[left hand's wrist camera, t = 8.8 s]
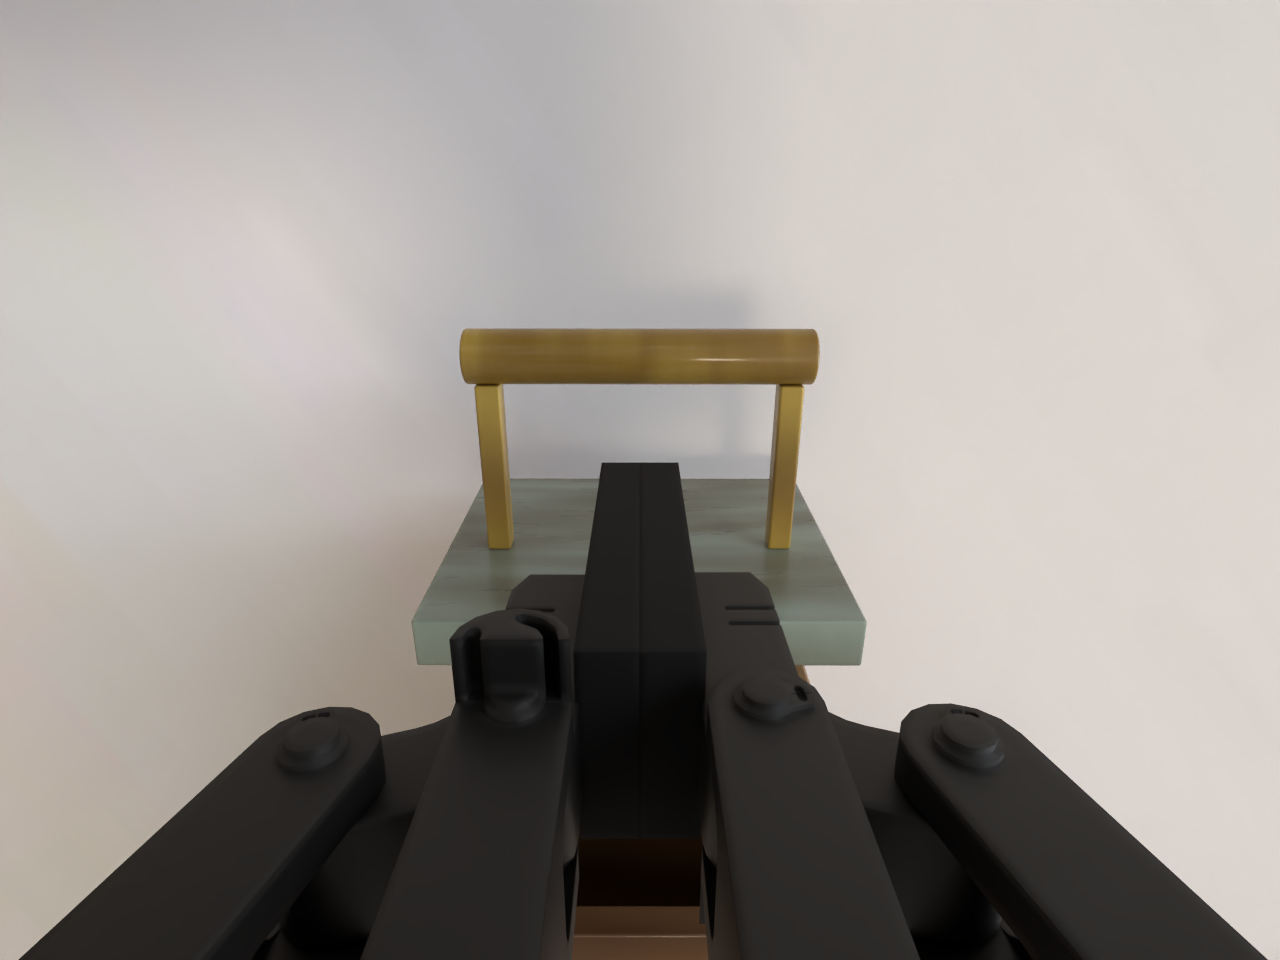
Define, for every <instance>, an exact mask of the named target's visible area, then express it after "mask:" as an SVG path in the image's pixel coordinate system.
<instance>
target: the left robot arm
mask: <svg viewBox="0 0 1280 960" xmlns="http://www.w3.org/2000/svg"><path fill="white" fill-rule="evenodd" d="M449 643H450V652H451V662H452V671H453V681H454V690H455V700H456V703H455V706H454V708H453V711H452V714H451V716H449V717H446V718H444V719H442V720H440V721H438V722H436V723H433V724H430V725H426V726H423V727H419V728H416V729H411V730H407V731H402V732H398V733H393V734H388V735H384V736H381V734H380V727H379V724H378V723H377V722H376V721H375V720H374V719H373V718H372V716H371V715H370V714H368V713H366V712H363V711H360V710H357V709H354V708H350V707H327V708H322V709H317V710H312V711H307V712H303V713H301V714H299V715H296V716H294V717H291V718H289V719H287V720H284V721H282V722H280V723H278V724H277V725H276V726H274V727H273V728H271V729H270V730H269V731H267V732H266V733H264V734H263V735H262V736H260V737H259V738H258V739H257V740H256V741H255V742H254V743H252V744H251V745H250V746H249V747H248V748H247V749H246V750H245V751H244V752H243V753H242V754H241V755H239V756H238V757H237V758H236V759H235V760H234V761H233V762H232V763H231V764H230V765H229V766H228V767H227V768H225V769H224V770H223V771H222V772H221V773H220V774H219V775H218V776H217V777H216V778H215V779H214V780H212V781H211V782H210V783H209V784H208V785H207V786H206V787H205V788H204V789H203V790H202V791H201V792H199V793H198V794H197V795H196V796H195V797H194V798H193V799H192V800H191V801H190V802H189V803H188V804H187V805H185V806H184V807H183V808H182V809H181V810H180V811H179V812H178V813H177V814H176V815H175V816H174V817H172V818H171V819H170V820H169V821H168V822H167V823H166V824H165V825H164V826H163V827H162V828H161V829H159V830H158V831H157V832H156V833H155V834H154V835H153V836H152V837H151V838H150V839H149V840H148V841H146V842H145V843H144V844H143V845H142V846H141V847H140V848H139V849H138V850H137V851H136V852H135V853H134V854H132V855H131V856H130V857H129V858H128V859H127V860H126V861H125V862H124V863H123V864H122V865H121V866H119V867H118V868H117V869H116V870H115V871H114V872H113V873H112V874H111V875H110V876H109V877H108V878H106V879H105V880H104V881H103V882H102V883H101V884H100V885H99V886H98V887H97V888H96V889H95V890H94V891H92V892H91V893H90V894H89V895H88V896H87V897H86V898H85V899H84V900H83V901H82V902H81V903H79V904H78V905H77V906H76V907H75V908H74V909H73V910H72V911H71V912H70V913H69V914H68V915H66V916H65V917H64V918H63V919H62V920H61V921H60V922H59V923H58V924H57V925H56V926H55V927H53V928H52V929H51V930H50V931H49V932H48V933H47V934H46V935H45V936H44V937H43V938H42V939H41V940H39V941H38V942H37V943H36V944H35V945H34V946H33V947H32V948H31V949H30V950H29V951H28V952H26V953H25V954H24V955H23V956H22V957H21V958H20V959H19V960H572V950H573V939H574V928H575V916H576V905H577V894H578V882H579V864H578V837H579V826H580V839H700V823H701V833H702V864H701V890H700V916H699V924H705V927H706V938H707V949H708V960H1267V959H1266V958H1265V957H1264V956H1263V955H1262V954H1261V953H1260V952H1259V951H1258V950H1257V949H1255V948H1254V947H1253V946H1252V945H1251V944H1250V943H1249V942H1248V941H1247V940H1246V939H1245V938H1243V937H1242V936H1241V935H1240V934H1239V933H1238V932H1237V931H1236V930H1235V929H1234V928H1233V927H1231V926H1230V925H1229V924H1228V923H1227V922H1226V921H1225V920H1224V919H1223V918H1222V917H1221V916H1219V915H1218V914H1217V913H1216V912H1215V911H1214V910H1213V909H1212V908H1211V907H1210V906H1209V905H1207V904H1206V903H1205V902H1204V901H1203V900H1202V899H1201V898H1200V897H1199V896H1198V895H1197V894H1196V893H1194V892H1193V891H1192V890H1191V889H1190V888H1189V887H1188V886H1187V885H1186V884H1185V883H1184V882H1182V881H1181V880H1180V879H1179V878H1178V877H1177V876H1176V875H1175V874H1174V873H1173V872H1172V871H1170V870H1169V869H1168V868H1167V867H1166V866H1165V865H1164V864H1163V863H1162V862H1161V861H1160V860H1158V859H1157V858H1156V857H1155V856H1154V855H1153V854H1152V853H1151V852H1150V851H1149V850H1148V849H1146V848H1145V847H1144V846H1143V845H1142V844H1141V843H1140V842H1139V841H1138V840H1137V839H1136V838H1134V837H1133V836H1132V835H1131V834H1130V833H1129V832H1128V831H1127V830H1126V829H1125V828H1124V827H1122V826H1121V825H1120V824H1119V823H1118V822H1117V821H1116V820H1115V819H1114V818H1113V817H1112V816H1111V815H1109V814H1108V813H1107V812H1106V811H1105V810H1104V809H1103V808H1102V807H1101V806H1100V805H1099V804H1097V803H1096V802H1095V801H1094V800H1093V799H1092V798H1091V797H1090V796H1089V795H1088V794H1087V793H1085V792H1084V791H1083V790H1082V789H1081V788H1080V787H1079V786H1078V785H1077V784H1076V783H1075V782H1073V781H1072V780H1071V779H1070V778H1069V777H1068V776H1067V775H1066V774H1065V773H1064V772H1063V771H1061V770H1060V769H1059V768H1058V767H1057V766H1056V765H1055V764H1054V763H1053V762H1052V761H1051V760H1049V759H1048V758H1047V757H1046V756H1045V755H1044V754H1043V753H1042V752H1041V751H1040V750H1039V749H1037V748H1036V747H1035V746H1034V745H1033V744H1032V743H1031V742H1030V741H1029V740H1028V739H1027V738H1025V737H1024V736H1023V735H1022V734H1021V733H1020V732H1018V731H1017V730H1015V729H1014V728H1013V727H1011V726H1010V725H1008V724H1007V723H1006V722H1004V721H1003V720H1001V719H999V718H997V717H995V716H992V715H990V714H988V713H985V712H983V711H980V710H978V709H975V708H970V707H966V706H960V705H955V704H928V705H925V706H923V707H920V708H917V709H914V710H911V711H910V713H909V714H908V715H907V716H906V717H905V718H904V719H903V720H902V722H901V727H900V733H897V732H892V731H888V730H883V729H878V728H874V727H869V726H865V725H861V724H858V723H854V722H851V721H848V720H845V719H843V718H840V717H838V716H836V715H834V714H832V713H830V712H828V710H827V707H826V705H825V702H824V700H823V699H822V697H821V696H820V694H819V693H818V691H817V690H816V689H815V687H813V686H812V685H810V684H809V683H807V682H806V681H804V680H803V679H802V678H800V677H799V676H798V673H797V670H796V667H795V664H794V661H793V658H792V655H791V652H790V650H789V647H788V644H787V641H786V638H785V635H784V632H783V629H782V626H781V625H780V620H779V617H778V614H777V611H776V610H775V606H774V603H773V600H772V597H771V594H770V591H769V588H768V587H767V586H766V585H765V584H763V583H762V582H761V581H760V580H759V579H758V578H756V577H755V576H754V575H753V574H752V573H751V572H695V571H694V564H693V558H692V551H691V545H690V538H689V531H688V525H687V518H686V512H685V505H684V498H683V492H682V485H681V479H680V472H679V465H678V463H602V465H601V472H600V479H599V485H598V492H597V498H596V505H595V512H594V518H593V525H592V531H591V538H590V545H589V551H588V558H587V564H586V571H585V575H560V574H559V575H557V574H556V575H549V574H548V575H546V574H545V575H543V574H541V575H535V574H534V575H532V574H531V575H529V576H528V577H527V578H525V579H524V580H523V581H522V582H521V583H520V584H518V585H517V586H516V587H515V588H514V589H513V590H512V591H511V594H510V597H509V600H508V603H507V606H506V609H505V610H499V611H494V612H491V613H487V614H484V615H481V616H478V617H475V618H473V619H472V620H470V621H468V622H467V623H465V624H463V625H462V626H460V627H459V628H458V629H457V630H456V632H455V633H454V634H453V635H452V636H451V638H450V639H449Z"/></svg>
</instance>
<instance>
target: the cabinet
mask: <svg viewBox="0 0 1280 960" xmlns="http://www.w3.org/2000/svg"><path fill="white" fill-rule="evenodd" d="M699 916H700V906H576V916H575V928H574V939H573V950H572V960H708V949H707V938H706V927H705V924H699Z"/></svg>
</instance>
